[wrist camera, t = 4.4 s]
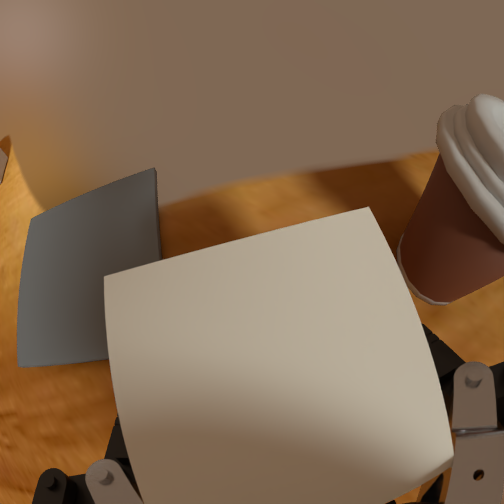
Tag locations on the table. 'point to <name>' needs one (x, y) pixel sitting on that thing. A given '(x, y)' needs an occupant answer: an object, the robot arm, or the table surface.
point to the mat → (82, 268)
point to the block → (276, 371)
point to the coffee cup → (459, 208)
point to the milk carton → (2, 163)
